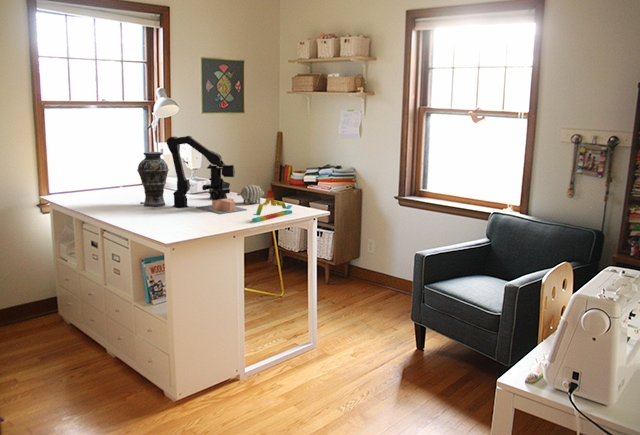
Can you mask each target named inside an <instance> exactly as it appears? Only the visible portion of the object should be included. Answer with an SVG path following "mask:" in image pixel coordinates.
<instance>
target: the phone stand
mask: <svg viewBox="0 0 640 435" xmlns="http://www.w3.org/2000/svg"><path fill="white" fill-rule="evenodd" d="M227 196H228V195H227V194H221V195H220V197H219V199H227V198H228V197H227ZM209 200H211V201H212V200H213V199H212V197H211V195H210V194H209Z"/></svg>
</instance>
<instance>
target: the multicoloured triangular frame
mask: <svg viewBox="0 0 640 435" xmlns="http://www.w3.org/2000/svg"><path fill="white" fill-rule="evenodd" d="M269 204H270V205H271V206H273V207H275V206H280V207H281V208H282V209H284V210H282V211H278V212H275V213H269V214H266V215H262V216H261V213H262V211H263V208H264V206H265V207H266V206H267V205H269ZM292 207H293V205H291V204H287V205H286V203H285V202H284V201H281V200H276V199H275V197H274V192H273V190H267V195H266V198H265V202H263V203H260V204H259V203H258V206H257V210H256V213H252V215H253V216H256V217H254V218H251V222H253V223H260V222H264V221H268V220H273V219H275V218H280V217H284V216H287V215H291V214H293V210H291V208H292Z"/></svg>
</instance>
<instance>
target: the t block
mask: <svg viewBox="0 0 640 435" xmlns="http://www.w3.org/2000/svg"><path fill="white" fill-rule="evenodd" d="M211 205H212V209H213V210H221V209H223V210H227V211H235V207H236V201H234V198H230V197H227V199H219V200H212V199H211Z"/></svg>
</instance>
